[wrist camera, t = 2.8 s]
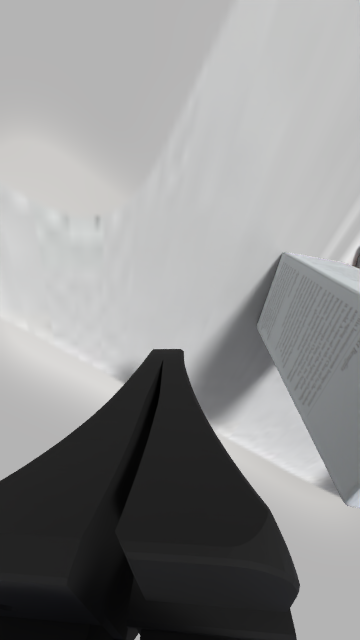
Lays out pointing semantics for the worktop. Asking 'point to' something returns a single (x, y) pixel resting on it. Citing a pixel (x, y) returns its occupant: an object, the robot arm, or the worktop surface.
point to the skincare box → (320, 357)
